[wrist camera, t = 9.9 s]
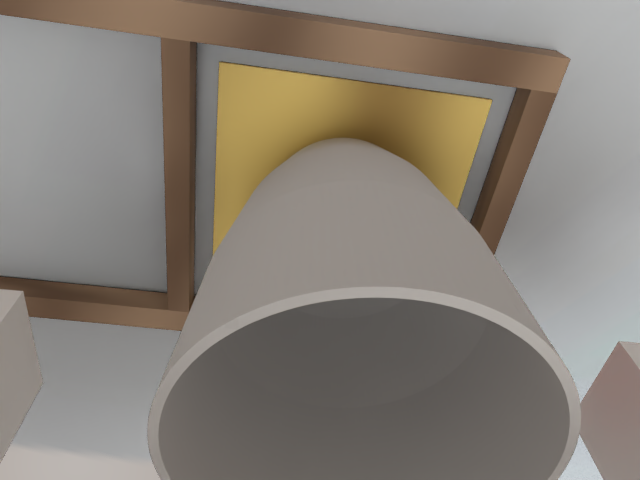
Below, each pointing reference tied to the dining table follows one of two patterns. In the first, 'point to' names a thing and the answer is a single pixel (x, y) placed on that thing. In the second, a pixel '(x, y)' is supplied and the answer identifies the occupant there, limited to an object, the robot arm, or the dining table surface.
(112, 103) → the dining table surface
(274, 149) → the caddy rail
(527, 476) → the cup
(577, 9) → the dining table surface
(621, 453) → the robot arm
